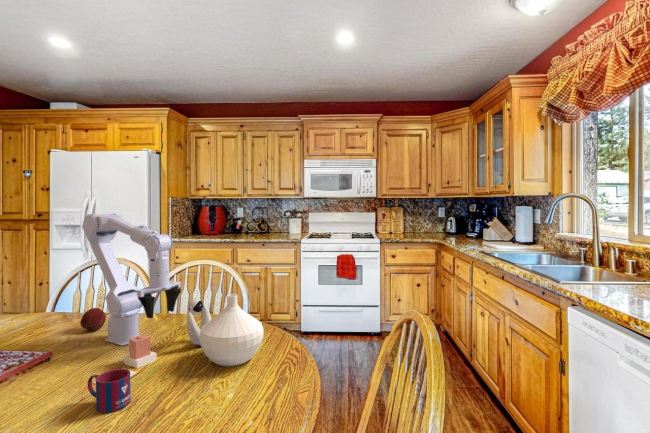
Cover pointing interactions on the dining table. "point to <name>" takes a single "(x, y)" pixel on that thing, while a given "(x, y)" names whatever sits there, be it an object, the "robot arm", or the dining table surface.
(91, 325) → the apple
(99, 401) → the mug
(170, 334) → the dining table surface
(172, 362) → the dining table surface
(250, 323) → the vase
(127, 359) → the base brick
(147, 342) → the red brick
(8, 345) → the dining table surface
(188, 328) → the toy
